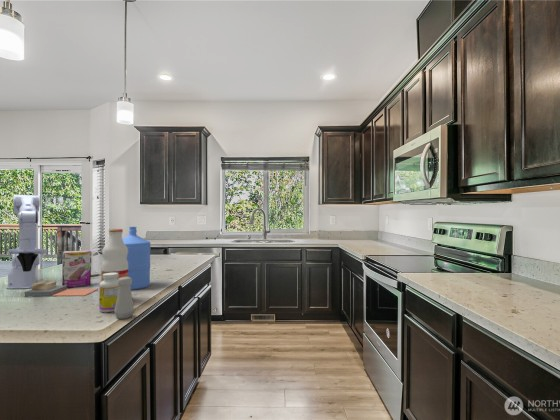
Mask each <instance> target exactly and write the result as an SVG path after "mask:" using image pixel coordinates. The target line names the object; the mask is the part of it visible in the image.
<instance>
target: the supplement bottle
mask: <svg viewBox="0 0 560 420" xmlns="http://www.w3.org/2000/svg"><path fill="white" fill-rule="evenodd" d="M117 277H118V273H105V274H103V279H104V281H102V282H101V281H100V283H99V296H98V297H99V302H98V303H99V304H98V305H99V306H98V310H99V312H101V313H113V312H114V310H115V306H116V301H117V297H118V292H119V287H120V286H119V285H118V280H117ZM114 313H115V312H114Z"/></svg>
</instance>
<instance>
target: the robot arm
mask: <svg viewBox="0 0 560 420" xmlns="http://www.w3.org/2000/svg"><path fill="white" fill-rule="evenodd" d="M40 198H41V197H40V196H39V194H38V195H29V194H28V195H27V194H18V193H17V194H14V195H13V213H14V214H16V215H18V216H17V219H18V220H17V222H18V230H19V231H18V247H16V248H13V249H12V248H11V249H7V255H11V256H12V260H11V266H12V268H10V269H9V271H8V273H7V287H6V289H13V290H14V289H32V284H34V283H37V282H36V278H37V277H36V274H37V273H36V272H37V267H38V266H39V265H40V262H41V258H40V256H41V255H46V254H48V249H47V248H37V234H38V233H37V230H38V229H37V227H38V226H37V225H38V222H39V212H40V203H41V200H40Z"/></svg>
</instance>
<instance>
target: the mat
mask: <svg viewBox="0 0 560 420" xmlns="http://www.w3.org/2000/svg"><path fill="white" fill-rule="evenodd" d="M98 290H99V288H67V289H66V290H64V291H61V292H59V293H56V294H54V295H52V296H51V297H86V296H87V295H90V294H92V293H94V292H96V291H98Z"/></svg>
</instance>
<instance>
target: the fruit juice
mask: <svg viewBox="0 0 560 420" xmlns="http://www.w3.org/2000/svg"><path fill="white" fill-rule="evenodd" d="M123 230H124V229H123V228H109V229H108V234H109V237H108V240H107V243H106V244H105V245H104V246H103V248H102V251H101V255H102V258H103V261H102V262H101V267H100V271H101V272H100V273H101V275H100V276H101V277H100V280H101V281H100V283H101V282H102V281H104V279H103V274H105V273H118V277H117V280H118V279H119V278H122V277H128V261H127V255H128V248H127V246H126V245H125V244H124V242H123V240H122V239H123V236H122V234H123Z"/></svg>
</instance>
